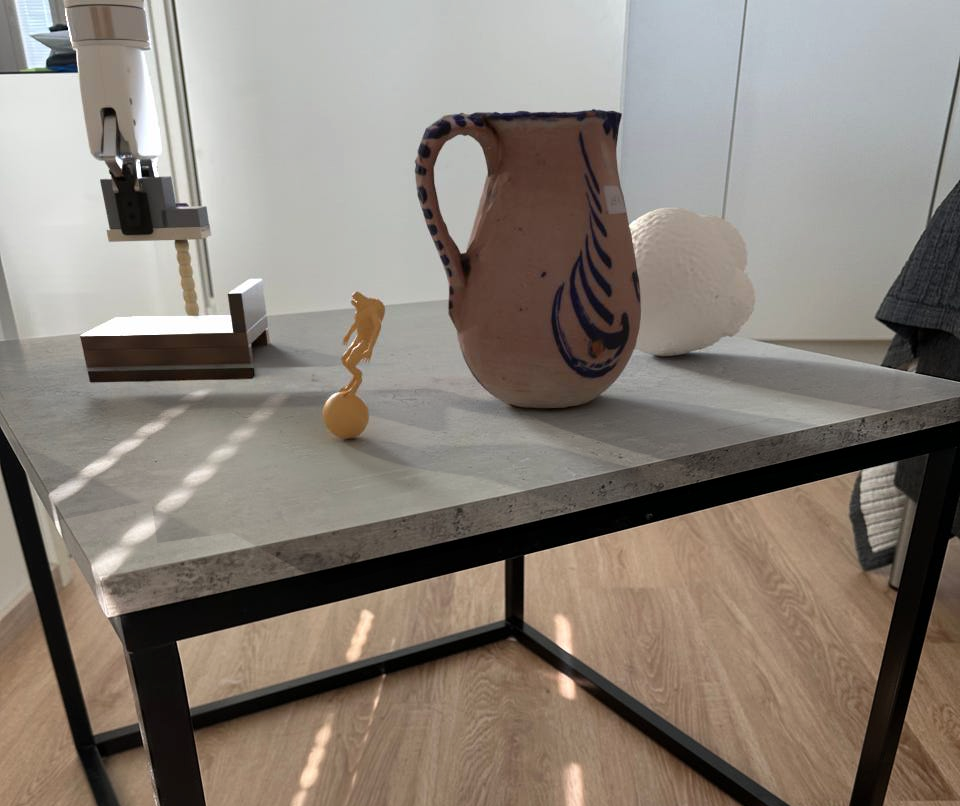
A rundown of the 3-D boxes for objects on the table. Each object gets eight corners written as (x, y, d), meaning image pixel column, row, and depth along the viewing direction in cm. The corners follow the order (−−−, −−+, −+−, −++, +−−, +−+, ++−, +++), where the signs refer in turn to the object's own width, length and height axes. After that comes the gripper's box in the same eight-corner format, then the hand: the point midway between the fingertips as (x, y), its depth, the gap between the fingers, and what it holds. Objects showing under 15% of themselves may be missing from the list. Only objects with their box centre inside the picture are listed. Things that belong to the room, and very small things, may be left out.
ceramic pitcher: (672, 405, 89) (697, 105, 77) (482, 439, 80) (477, 105, 68) (569, 372, 102) (576, 113, 90) (396, 398, 93) (380, 113, 81)
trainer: (108, 241, 99) (95, 179, 96) (121, 238, 103) (109, 177, 100) (201, 239, 99) (192, 176, 96) (211, 235, 103) (202, 175, 100)
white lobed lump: (556, 352, 112) (559, 208, 105) (649, 333, 122) (658, 200, 115) (690, 378, 99) (704, 215, 91) (782, 354, 109) (802, 205, 102)
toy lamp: (173, 340, 123) (150, 203, 116) (205, 336, 126) (185, 201, 118) (188, 345, 120) (166, 204, 112) (221, 340, 123) (201, 202, 115)
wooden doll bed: (89, 382, 102) (71, 296, 98) (124, 360, 112) (108, 281, 108) (252, 379, 102) (241, 293, 98) (271, 357, 113) (262, 278, 108)
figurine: (316, 428, 84) (302, 288, 78) (380, 421, 86) (371, 283, 80) (335, 453, 77) (321, 301, 71) (404, 445, 79) (396, 296, 73)
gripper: (100, 42, 99) (134, 227, 108) (38, 24, 84) (83, 240, 93) (170, 40, 99) (199, 225, 108) (120, 22, 84) (158, 238, 93)
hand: (145, 230), depth 100 cm, fingers closed on trainer, 4 cm apart
